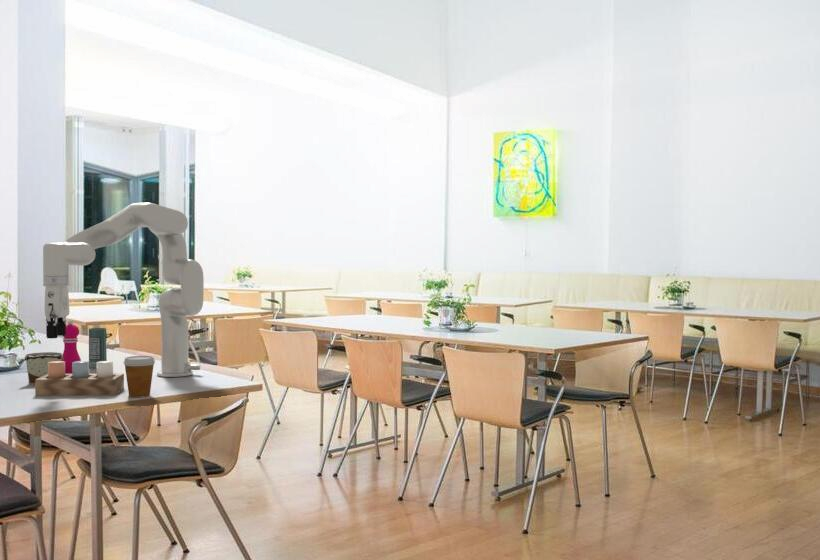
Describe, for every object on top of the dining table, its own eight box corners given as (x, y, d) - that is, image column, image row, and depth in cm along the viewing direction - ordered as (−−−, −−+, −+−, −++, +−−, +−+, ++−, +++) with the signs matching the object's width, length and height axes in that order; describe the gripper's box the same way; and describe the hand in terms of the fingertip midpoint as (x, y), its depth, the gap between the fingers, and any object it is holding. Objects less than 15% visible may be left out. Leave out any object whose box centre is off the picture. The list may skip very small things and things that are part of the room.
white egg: (114, 380, 268) (114, 361, 268) (110, 383, 264) (110, 363, 263) (99, 380, 268) (98, 361, 268) (94, 383, 263) (94, 363, 263)
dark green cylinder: (108, 366, 322) (108, 328, 321) (101, 368, 316) (101, 329, 315) (94, 366, 322) (93, 327, 322) (86, 368, 316) (86, 329, 316)
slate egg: (91, 380, 268) (91, 361, 268) (86, 383, 263) (86, 363, 263) (75, 380, 267) (75, 361, 267) (70, 383, 262) (70, 363, 262)
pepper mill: (73, 377, 295) (73, 321, 294) (55, 376, 296) (55, 320, 295) (85, 374, 302) (85, 319, 301) (67, 373, 303) (67, 319, 302)
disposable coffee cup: (118, 395, 260) (118, 357, 260) (146, 391, 267) (146, 354, 266) (132, 399, 253) (132, 360, 253) (160, 395, 260) (160, 357, 260)
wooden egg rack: (123, 388, 272) (123, 373, 272) (114, 395, 260) (114, 379, 260) (48, 388, 270) (48, 373, 270) (35, 395, 258) (35, 379, 258)
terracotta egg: (67, 380, 267) (67, 361, 267) (62, 383, 262) (62, 363, 262) (51, 380, 267) (51, 361, 266) (45, 383, 262) (45, 363, 261)
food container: (64, 379, 289) (64, 351, 288) (63, 382, 283) (63, 353, 282) (25, 381, 284) (25, 352, 284) (24, 384, 278) (24, 355, 278)
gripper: (59, 282, 255) (59, 339, 256) (76, 280, 272) (76, 334, 273) (33, 282, 254) (34, 339, 255) (53, 280, 272) (53, 334, 272)
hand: (56, 336), depth 264 cm, fingers open, 7 cm apart
